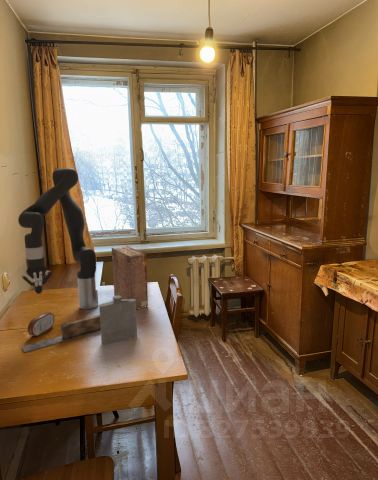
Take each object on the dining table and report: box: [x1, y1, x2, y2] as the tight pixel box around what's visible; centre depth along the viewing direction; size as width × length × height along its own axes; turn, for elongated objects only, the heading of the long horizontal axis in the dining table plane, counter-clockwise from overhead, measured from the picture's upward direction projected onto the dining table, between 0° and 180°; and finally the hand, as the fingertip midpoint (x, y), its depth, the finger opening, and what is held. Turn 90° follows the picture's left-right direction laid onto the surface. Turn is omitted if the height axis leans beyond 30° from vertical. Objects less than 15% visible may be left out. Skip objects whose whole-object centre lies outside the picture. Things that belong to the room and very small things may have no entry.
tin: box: [27, 311, 55, 337], centre depth 164 cm, size 15×3×8 cm, turn 160°
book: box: [111, 245, 149, 310], centre depth 197 cm, size 25×9×30 cm, turn 34°
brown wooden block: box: [60, 314, 101, 339], centre depth 163 cm, size 18×4×6 cm, turn 125°
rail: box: [21, 328, 101, 353], centre depth 159 cm, size 36×5×1 cm, turn 125°
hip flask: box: [98, 295, 138, 345], centre depth 155 cm, size 16×4×20 cm, turn 114°
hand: (38, 293), depth 161 cm, fingers closed
